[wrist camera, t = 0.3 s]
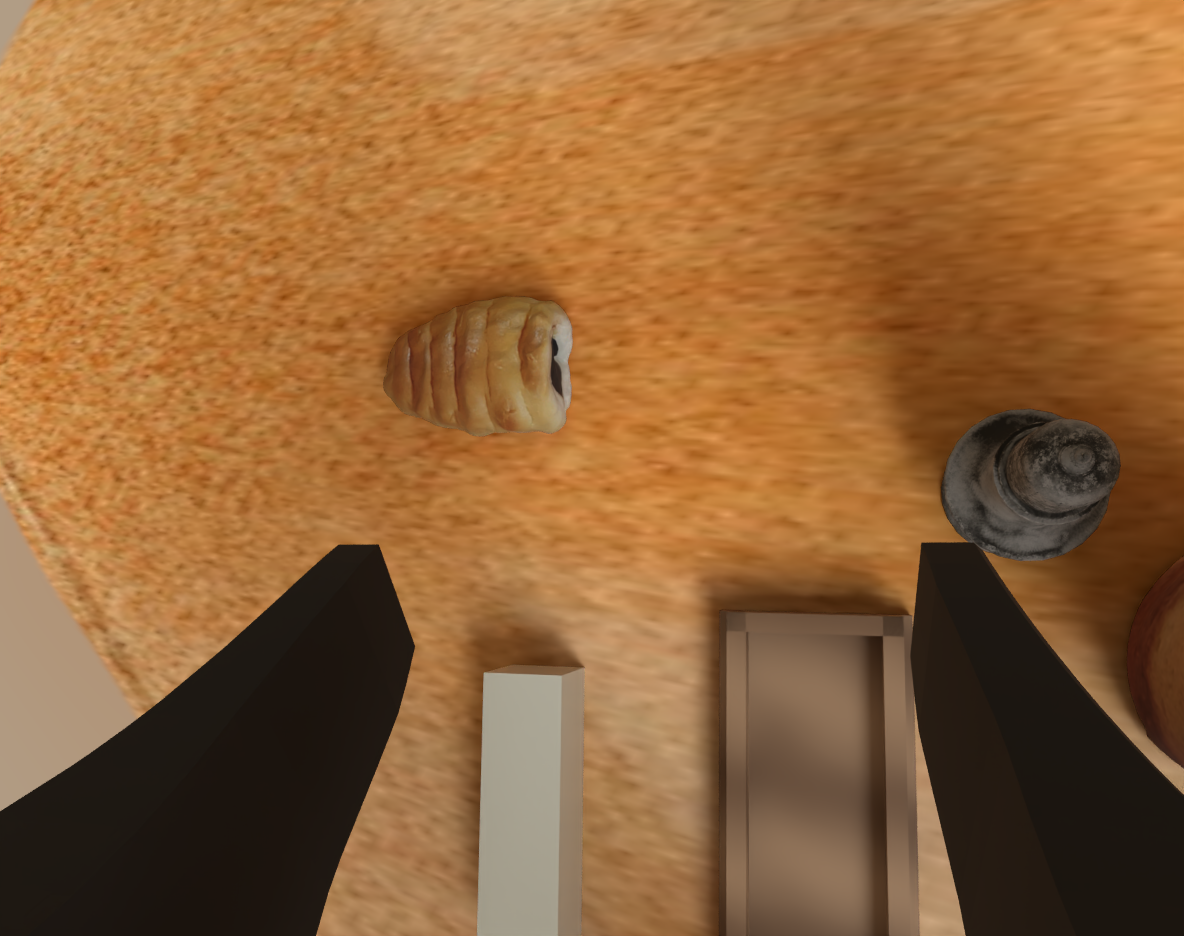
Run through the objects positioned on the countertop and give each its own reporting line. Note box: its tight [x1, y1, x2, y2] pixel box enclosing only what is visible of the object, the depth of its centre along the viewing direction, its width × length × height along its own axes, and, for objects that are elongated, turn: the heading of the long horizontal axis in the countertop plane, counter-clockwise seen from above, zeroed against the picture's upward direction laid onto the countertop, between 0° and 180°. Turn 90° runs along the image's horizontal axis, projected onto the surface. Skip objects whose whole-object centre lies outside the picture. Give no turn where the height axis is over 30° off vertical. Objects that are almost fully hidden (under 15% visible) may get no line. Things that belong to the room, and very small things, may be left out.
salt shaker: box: [941, 409, 1121, 561], centre depth 33 cm, size 6×6×12 cm
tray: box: [719, 610, 920, 936], centre depth 38 cm, size 16×8×2 cm, turn 179°
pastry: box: [383, 296, 573, 436], centre depth 43 cm, size 9×7×4 cm
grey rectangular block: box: [477, 665, 585, 936], centre depth 40 cm, size 12×4×4 cm, turn 179°
